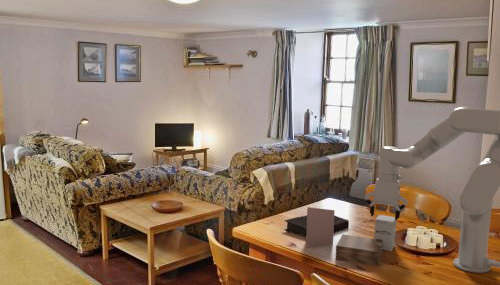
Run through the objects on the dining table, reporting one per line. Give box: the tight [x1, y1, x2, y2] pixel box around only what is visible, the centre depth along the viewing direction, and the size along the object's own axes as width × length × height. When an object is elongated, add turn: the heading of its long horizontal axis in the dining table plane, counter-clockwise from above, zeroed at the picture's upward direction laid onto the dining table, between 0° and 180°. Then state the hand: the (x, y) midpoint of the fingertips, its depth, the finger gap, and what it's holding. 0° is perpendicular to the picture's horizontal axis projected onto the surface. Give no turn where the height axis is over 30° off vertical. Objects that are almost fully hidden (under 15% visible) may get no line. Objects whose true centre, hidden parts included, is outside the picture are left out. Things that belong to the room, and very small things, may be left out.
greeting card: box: [305, 207, 335, 248], centre depth 197 cm, size 11×7×15 cm, turn 70°
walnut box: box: [335, 234, 383, 267], centre depth 187 cm, size 16×14×6 cm
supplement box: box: [373, 214, 397, 252], centre depth 197 cm, size 7×7×13 cm
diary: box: [283, 214, 350, 237], centre depth 219 cm, size 19×25×5 cm
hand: (384, 217), depth 196 cm, fingers open, 9 cm apart
